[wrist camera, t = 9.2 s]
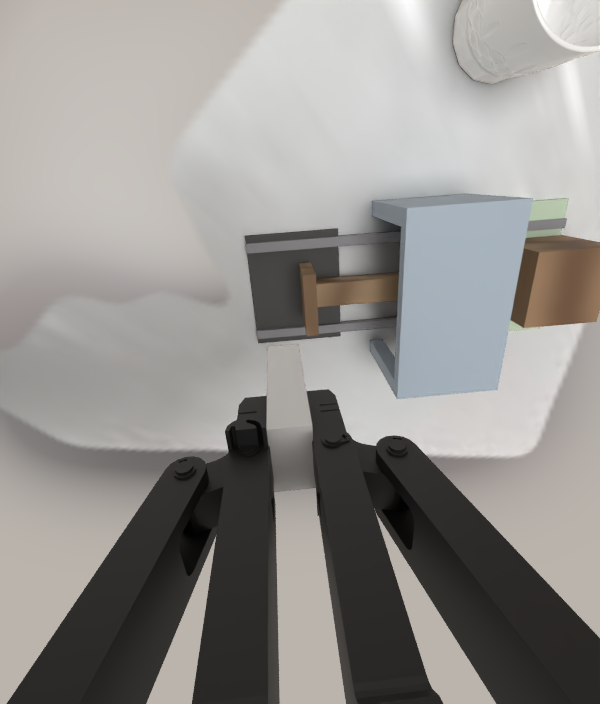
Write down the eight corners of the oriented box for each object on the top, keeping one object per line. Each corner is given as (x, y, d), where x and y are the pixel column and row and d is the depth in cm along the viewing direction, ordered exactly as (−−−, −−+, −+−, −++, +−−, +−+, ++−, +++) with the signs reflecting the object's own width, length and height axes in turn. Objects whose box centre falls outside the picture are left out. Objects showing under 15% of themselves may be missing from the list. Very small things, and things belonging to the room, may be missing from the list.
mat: (464, 333, 37) (465, 334, 37) (481, 205, 32) (483, 205, 31) (537, 327, 37) (539, 328, 37) (566, 198, 32) (568, 198, 32)
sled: (302, 320, 35) (308, 346, 29) (298, 256, 32) (303, 271, 27) (546, 300, 35) (596, 321, 30) (561, 235, 33) (618, 246, 27)
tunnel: (260, 360, 37) (256, 411, 28) (241, 211, 31) (230, 222, 23) (535, 336, 37) (608, 379, 29) (569, 185, 31) (671, 187, 23)
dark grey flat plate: (258, 342, 36) (258, 343, 36) (245, 235, 32) (244, 236, 31) (340, 335, 36) (340, 336, 36) (337, 228, 32) (337, 228, 32)
